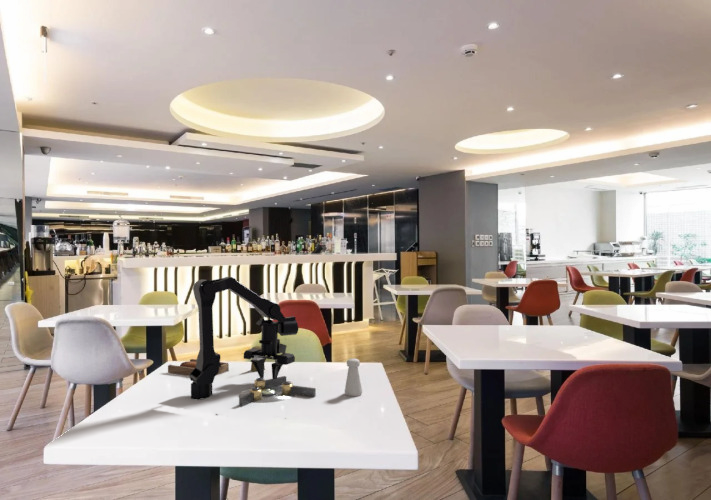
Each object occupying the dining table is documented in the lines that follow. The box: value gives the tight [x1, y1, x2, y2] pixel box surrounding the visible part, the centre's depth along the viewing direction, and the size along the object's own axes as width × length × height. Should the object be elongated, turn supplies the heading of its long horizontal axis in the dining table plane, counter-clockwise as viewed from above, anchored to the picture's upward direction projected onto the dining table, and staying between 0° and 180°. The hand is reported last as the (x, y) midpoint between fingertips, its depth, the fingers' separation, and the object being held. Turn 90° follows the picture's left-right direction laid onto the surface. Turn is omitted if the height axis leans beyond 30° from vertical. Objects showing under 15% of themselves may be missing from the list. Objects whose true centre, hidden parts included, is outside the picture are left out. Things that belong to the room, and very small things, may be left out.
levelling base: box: [238, 385, 296, 407], centre depth 151 cm, size 24×19×5 cm
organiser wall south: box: [216, 363, 230, 376], centre depth 186 cm, size 11×1×3 cm, turn 155°
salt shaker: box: [344, 357, 363, 397], centre depth 152 cm, size 6×6×13 cm
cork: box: [250, 345, 266, 373], centre depth 186 cm, size 6×6×11 cm
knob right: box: [281, 380, 317, 398], centre depth 152 cm, size 12×4×4 cm, turn 65°
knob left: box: [254, 375, 287, 390], centre depth 161 cm, size 12×4×4 cm, turn 133°
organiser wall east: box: [189, 358, 229, 365], centre depth 196 cm, size 1×20×3 cm, turn 65°
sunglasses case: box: [179, 360, 196, 368], centre depth 191 cm, size 18×7×7 cm, turn 67°
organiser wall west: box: [167, 364, 194, 377], centre depth 185 cm, size 1×20×3 cm, turn 65°
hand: (268, 380), depth 165 cm, fingers open, 5 cm apart
